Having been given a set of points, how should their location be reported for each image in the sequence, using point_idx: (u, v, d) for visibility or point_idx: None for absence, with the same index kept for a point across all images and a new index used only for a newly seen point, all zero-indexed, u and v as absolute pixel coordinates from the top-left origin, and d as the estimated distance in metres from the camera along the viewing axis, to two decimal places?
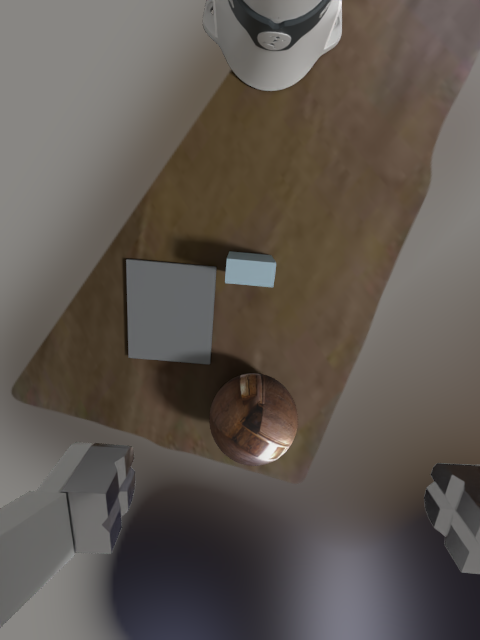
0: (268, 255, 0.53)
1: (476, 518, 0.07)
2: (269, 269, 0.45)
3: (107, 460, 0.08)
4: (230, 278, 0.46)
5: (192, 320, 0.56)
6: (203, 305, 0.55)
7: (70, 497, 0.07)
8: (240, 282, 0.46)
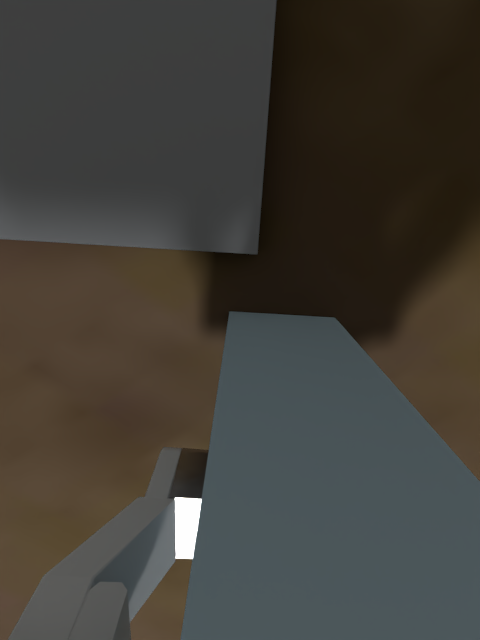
0: None
1: None
2: None
3: (202, 465, 0.08)
4: None
5: None
6: (12, 175, 0.09)
7: (177, 503, 0.07)
8: None
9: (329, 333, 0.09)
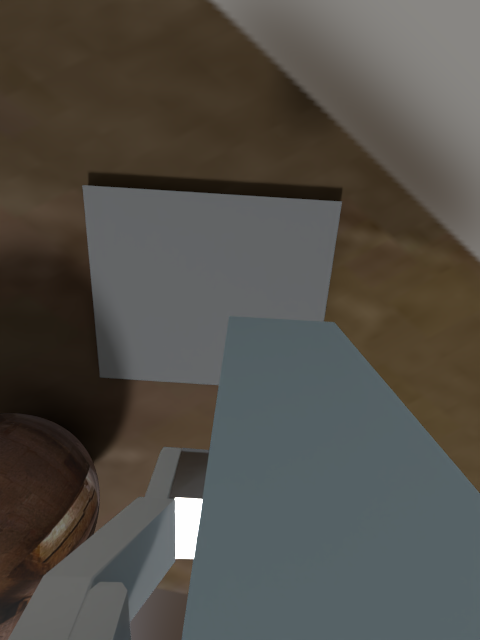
0: None
1: None
2: None
3: (203, 465, 0.08)
4: None
5: (198, 344, 0.26)
6: None
7: (178, 503, 0.07)
8: None
9: (329, 338, 0.09)
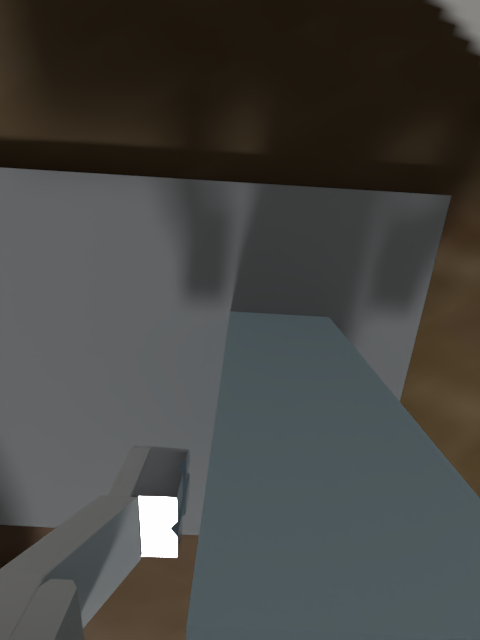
0: None
1: None
2: None
3: (170, 463, 0.08)
4: None
5: None
6: None
7: (141, 501, 0.07)
8: None
9: (323, 332, 0.10)
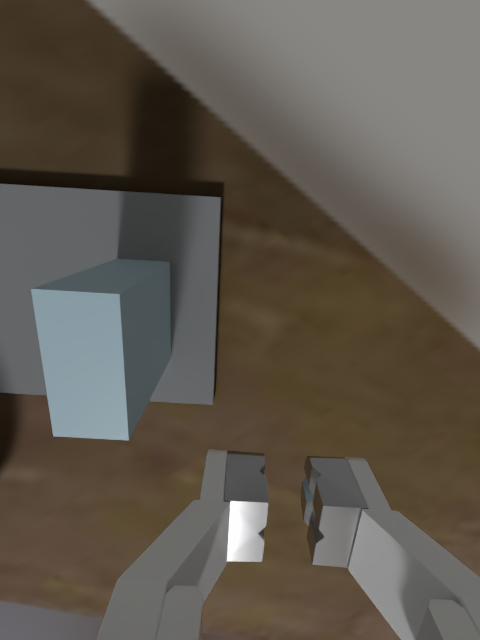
0: (168, 356, 0.22)
1: (319, 509, 0.07)
2: (107, 424, 0.15)
3: (251, 468, 0.08)
4: (51, 308, 0.13)
5: None
6: None
7: (232, 506, 0.07)
8: (44, 341, 0.13)
9: (154, 264, 0.20)
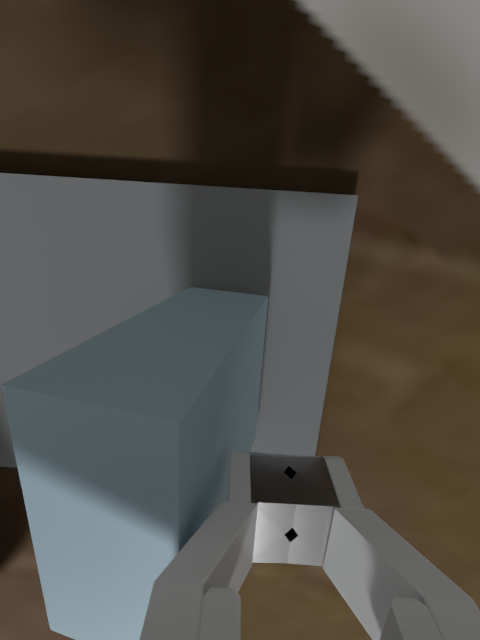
0: (253, 437, 0.15)
1: None
2: None
3: (276, 469, 0.08)
4: (39, 427, 0.06)
5: None
6: None
7: (260, 507, 0.07)
8: (30, 484, 0.06)
9: (246, 303, 0.12)
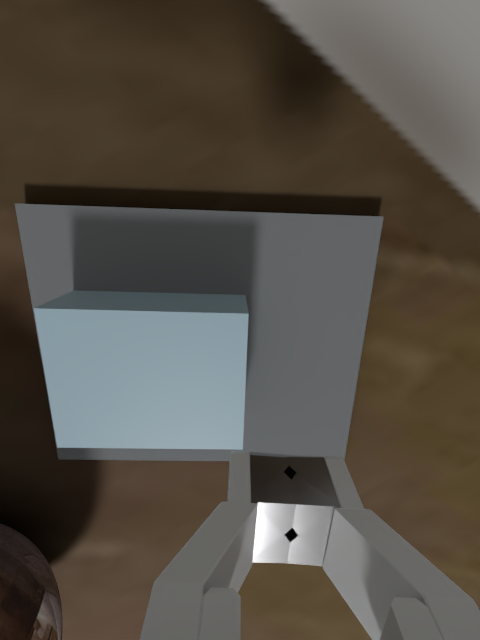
0: (225, 440, 0.16)
1: None
2: None
3: (275, 469, 0.08)
4: None
5: None
6: None
7: (260, 507, 0.07)
8: None
9: (212, 308, 0.14)
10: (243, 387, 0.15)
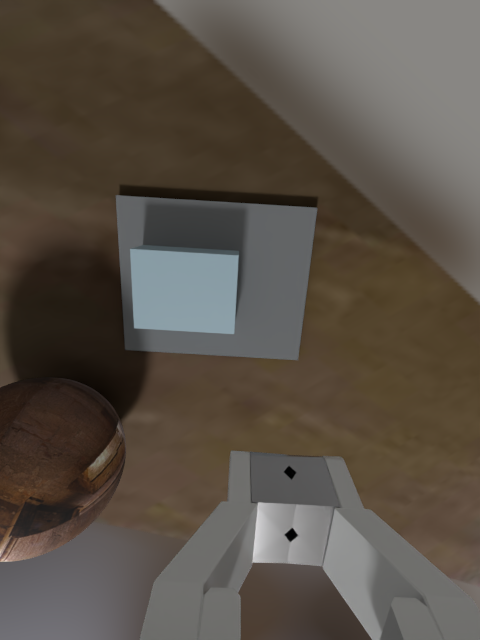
0: (224, 328, 0.28)
1: None
2: None
3: (275, 469, 0.08)
4: None
5: None
6: (234, 341, 0.33)
7: (259, 507, 0.07)
8: None
9: (220, 253, 0.27)
10: (235, 296, 0.28)
